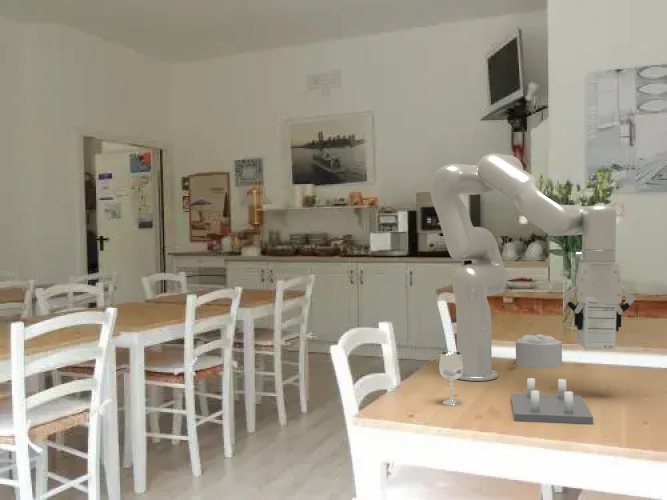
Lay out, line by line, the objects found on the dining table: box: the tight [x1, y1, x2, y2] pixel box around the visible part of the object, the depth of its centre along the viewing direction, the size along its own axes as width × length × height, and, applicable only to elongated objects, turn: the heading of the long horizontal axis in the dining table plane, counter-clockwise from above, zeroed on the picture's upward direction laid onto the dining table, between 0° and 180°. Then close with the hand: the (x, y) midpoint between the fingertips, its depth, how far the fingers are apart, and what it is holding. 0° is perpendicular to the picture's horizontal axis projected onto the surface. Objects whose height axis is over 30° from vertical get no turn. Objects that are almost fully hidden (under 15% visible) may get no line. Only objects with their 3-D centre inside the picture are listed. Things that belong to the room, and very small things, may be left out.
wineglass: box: [438, 350, 464, 406], centre depth 160 cm, size 6×6×12 cm
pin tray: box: [510, 377, 594, 425], centre depth 152 cm, size 16×18×6 cm
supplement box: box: [576, 297, 617, 351], centre depth 162 cm, size 7×7×13 cm
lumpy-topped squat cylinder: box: [515, 333, 563, 369], centre depth 202 cm, size 10×13×9 cm
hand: (597, 329), depth 162 cm, fingers closed on supplement box, 7 cm apart
